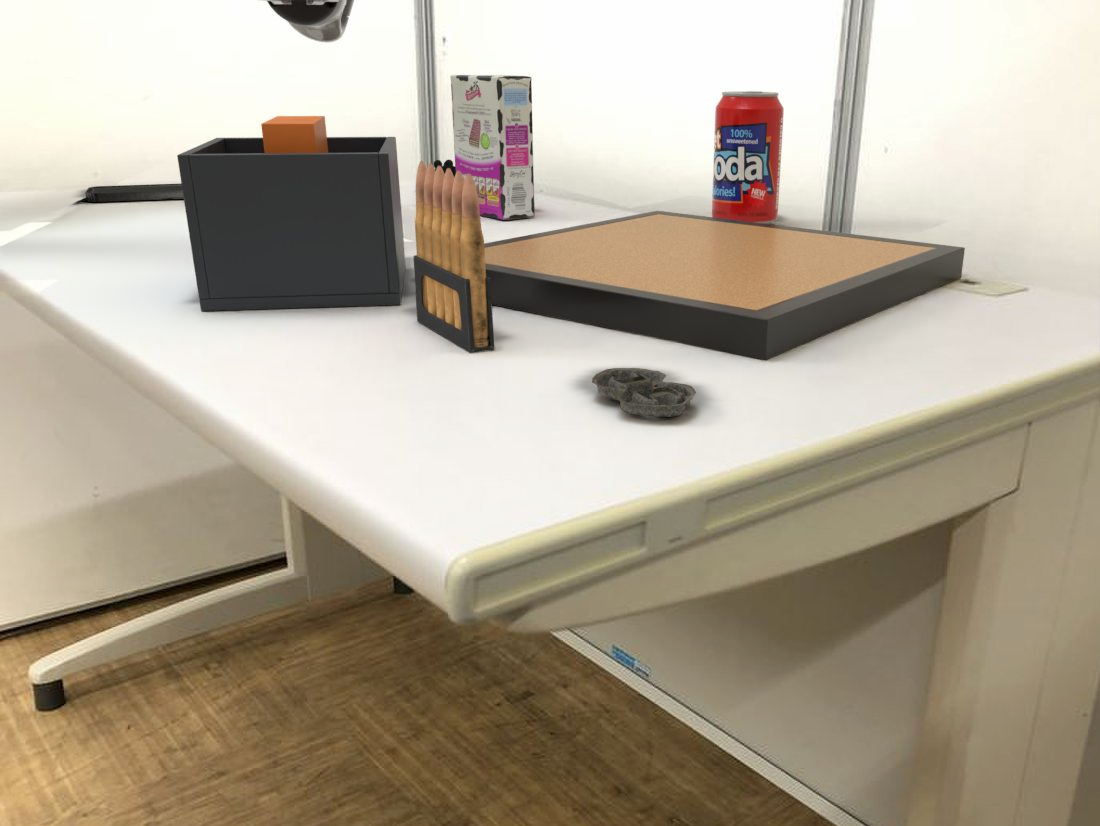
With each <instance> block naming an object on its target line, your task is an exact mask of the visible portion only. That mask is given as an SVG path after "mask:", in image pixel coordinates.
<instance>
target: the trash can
mask: <svg viewBox="0 0 1100 826" xmlns="http://www.w3.org/2000/svg"><path fill="white" fill-rule="evenodd" d="M396 138H397V137H396V136H327V144H328V153H265V151H264V143H263V137H215V138H213V139H211V140H208V141H206V142H204V143H202V144H200V145H197V146H194V147H192V148H190V149H188V150H186V151H184V152H181V153H178V154H177V155H176V156H177V164H178V170H179V176H180V184H182V190H183V197H184V199H183V203H184V209H185V214H186V222H187V229H188V236H189V242H190V248H191V255H192V261H193V268H194V275H195V281H196V287H197V288H196V289H197V294H198V295H197V296H198V300H199V306H200V311H201V312H219V311H250V310H281V309H282V310H284V309H285V310H286V309H315V308H319V309H320V308H348V307H349V308H350V307H377V306H379V307H380V306H381V307H382V306H383V307H384V306H400V305H401V303H402V295H403V289H404V281H405V277H406V276H405V275H406V257H405V256H406V253H405V239H404V228H403V215H402V202H401V201H402V200H401V189H400V187H401V186H400V176H399V162H398V148H397V139H396Z"/></svg>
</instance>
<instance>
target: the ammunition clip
mask: <svg viewBox="0 0 1100 826" xmlns="http://www.w3.org/2000/svg"><path fill="white" fill-rule="evenodd" d="M435 169H436V168H435V167H434V164H432V163H431V162H429V163H428V165H427V167H426V163H425V162H424V161H423V160H420V161H419V163H418V165H417V171H416V175H415V176H416V177H415V216H414V231H415V248H416V249H415V250H416V255H413V257H412V258H413V273H414V289H415V306H416V321H417V322H418V323H419V324H421V325H422V326H425V327H426V328H428V329H429V330H431V331H432V332H434V333H436V334H438V335H439V336H441V337H442V338H444V339H446V340H447V341H449V342H451V343H452V344H454V345H455V346H458V347H459V348H461V349H462V350H464V351H466V352H467V353H469V354H473V353H480V352H488V351H494V350H495V334H494V317H493V305H492V300H491V284H490V277H488V276H486V267H485V248H484V243H485V239H484V234H483V230H482V220H481V215H480V212H479V201H478V195H477V190H476V187H475V183H474V180H473V178H472V176H471V174H470V173H468V174H467V175H466V178H465V181H464V178H463V176H462V174H461V172H460V171H457V172H456V174H455V178H454V176H453V173H452V171H451V169H450V168H447V170H446V172H445V174H444V171H443V169H442V167H441V166H438V167H437V169H436V172H435Z"/></svg>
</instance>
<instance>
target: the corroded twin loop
mask: <svg viewBox="0 0 1100 826" xmlns="http://www.w3.org/2000/svg"><path fill="white" fill-rule="evenodd" d="M666 377H667V375H666V374H665V373H663V372H661V371H659V370H653V369H649V368H648V369H647V368H640V367H613V368H606V369H604V370H601V371H600V372H597V373H596V374H595V375H594V376H593V377H592V379H591V383H592V384H594V385H595V386H596V387H597V393H598V394H599V395H601V396H602V397H603V398H609V399H611V400H616V401H617V400H618V401H619V404H620V409H621V410H622V412H623V411H624V412H625V413H627V414H628V415H636V416H641V417H650V418H651V417H653V418H663V417H667V418H668V417H669V418H671V417H675V416H676V417H677V416H681V414H682V413H684V412H685V411H686V408H687V407H689V406H690V404H691V401H693V398H694V397H695V395H696V394H697V391H696V390H695V388H694V387H693V386H691V385H690V384H685V383H679V382H671V381H670V382H668V381H664V379H665V378H666Z"/></svg>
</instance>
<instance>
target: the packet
mask: <svg viewBox="0 0 1100 826" xmlns="http://www.w3.org/2000/svg"><path fill="white" fill-rule="evenodd" d="M260 126H261V133H262V138H263V143H264V151H265V153H328V144H327V137H328V136H327V125H326V116H325V115H279V116H278V115H277V116H275V117H273V118H271V119H269V120H266V121H264V122H262V123H260Z"/></svg>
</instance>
